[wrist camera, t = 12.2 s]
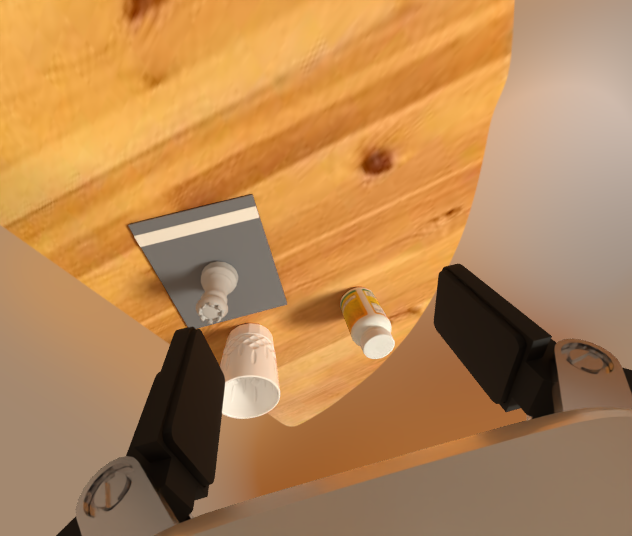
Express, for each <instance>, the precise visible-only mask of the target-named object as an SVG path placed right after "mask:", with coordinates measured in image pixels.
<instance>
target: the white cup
mask: <svg viewBox="0 0 632 536" xmlns="http://www.w3.org/2000/svg"><path fill="white" fill-rule="evenodd" d="M220 368H221V370H222V372H223V374H224V377H225V390H224V399H223V408H222V414H224V415H226V416H229V417H232V418H239V419H246V418H254V417H258V416H261V415H263V414H265V413H267V412H269V411H270V410H272V409H273V408H274V407H275V406H276V405H277V403H278V401H279V399H280V387H279V379H278V370H277V362H276V355H275V350H274V346H273V337H272V334H271V333H270V331H269V330H268V329H267V328H265V327H264V326H262V325H260V324H253V323H247V324H243V325H239V326H237V327H236V328H235V329H233V330H232V331H231V332H230V334H229V336H228V337H227V340H226V345H225V349H224V352H223V355H222V360H221V363H220Z"/></svg>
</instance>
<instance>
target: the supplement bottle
mask: <svg viewBox="0 0 632 536" xmlns="http://www.w3.org/2000/svg"><path fill="white" fill-rule="evenodd" d="M340 308H341V311H342V313H343V316H344V319H345V321H346V324H347V326H348V329H349V331H350V334H351V337H352V339H353V341H354V342H355V343H356V344H357V345H359V346H361V348H362V350H363V352H364V354H365V355H366V356H367V357H368V358H371V359H379V358H382V357H385V356H386V355H388V354H389V353H390V352H391V351H392V350H393V348H394V344H395V342H394V339H393V337H392V335H391V323H390V321H389V319H388V318H387V316H386V314H385V313H384V311H383V309H382V308H381V306H380V304H379V303H378V301H377V299H376V297H375V296H374V294H373V293H372V292H371V291H370V290H369V289H367V288H364V287H357V288H353V289H351V290H349V291H348V292H346V293H345V294H344V295H343V297H342V299H341V301H340Z"/></svg>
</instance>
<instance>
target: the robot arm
mask: <svg viewBox="0 0 632 536" xmlns="http://www.w3.org/2000/svg"><path fill="white" fill-rule="evenodd" d="M434 325H435V328H436V330H437V331H438V333H440V335H441V336H442V337H443V339H444V340H445V341H446V343H447V344H448V345H449V346H450V348H451V349H452V350H453V351H454V353H455V354H456V355H457V357H458V358H459V359H460V360H461V362H462V363H463V364H464V366H465V367H466V368H467V369H468V371H469V372H470V373H471V374H472V376H473V377H474V378H475V380H476V381H477V382H478V383H479V385H480V386H481V387H482V388H483V390H484V391H485V392H486V393H487V395H488V396H489V397H490V399H491V400H492V401H493V402H495V403H496V404H500V405H501V407H502V408H503V409H504V410H505V412H508V411H512V410H515V409H519V408H522V410H523V411H524V412H525V413H526V414H527V421H523V422H519V423H516V424H511V425H508V426H504V427H500V428H497V429H493V430H490V431H486V432H483V433H479V434H476V435H472V436H468V437H465V438H461V439H458V440H454V441H451V442H447V443H443V444H440V445H436V446H433V447H429V448H426V449H422V450H419V451H415V452H412V453H409V454H405V455H401V456H398V457H394V458H391V459H387V460H384V461H380V462H377V463H374V464H370V465H366V466H363V467H360V468H356V469H353V470H349V471H346V472H342V473H339V474H335V475H332V476H328V477H325V478H322V479H318V480H315V481H311V482H308V483H305V484H301V485H298V486H294V487H291V488H287V489H284V490H281V491H277V492H274V493H270V494H267V495H263V496H261V497H257V498H253V499H250V500H247V501H244V502H241V503H237V504H234V505H231V506H228V507H225V508H221V509H218V510H215V511H212V512H209V513H206V514H203V515H200V516H198V517H195V518H193V516H192V514H191V512H192V510H193V506H194V500H198V499H201V498H204V497H207V496H208V488H209V485H210V484H212V483H213V482H214V478H215V470H216V461H217V452H218V443H219V434H220V425H221V417H222V408H223V399H224V390H225V377H224V374H223V372H222V370H221V368H220V366H219V364H218V362H217V360H216V358H215V356H214V355H213V353H212V351H211V349H210V347H209V345H208V343H207V341H206V339H205V337H204V335H203V333H202V331H201V330H200V329H195V328H194V327H188V328H183V329H179V330H176V331H175V333H174V336H173V339H172V341H171V344H170V347H169V350H168V352H167V355H166V358H165V361H164V364H163V366H162V369H161V372H159V373H158V374H157V375H156V377H155V380H154V382H153V385H152V387H151V390H150V393H149V396H148V398H147V401H146V404H145V406H144V409H143V412H142V414H141V417H140V420H139V423H138V426H137V428H136V431H135V433H134V436H133V439H132V442H131V444H130V447H129V450H128V452H127V455H126V456H125V457H120V458H117V459H115V460H113V461H111V462H109V463H108V464H106V465H105V466H104V467H103V468H101V469H100V470H99V471H98V472H97V473H96V474H95V475H94V476H93V477H92V478H91V479H90V481H89V482H88V483H87V485H86V486H85V487H84V489H83V491H82V493H81V495H80V497H79V499H78V503H77V506H76V517H75V518H74V519H73V520H72V521H71V522H70V523H69V524H68V525H67V526H66V527H65V528H64V529H63V530H62V531H61V532H60V533H58V535H56V536H632V370H629V369H625V368H622V366H621V364H620V362H619V361H618V359H617V358H616V357H615V356H614V355H612V354H611V353H610V352H609V351H607V350H606V349H604V348H602V347H600V346H598V345H596V344H594V343H591V342H588V341H584V340H580V339H564V340H561V341H558V342H557V343H556V342H555V341H553V340H552V339H551V337H552V336H551V335H549V334H548V333H547V332H546V331H544V330H543V329H542V328H541V327H539V326H538V325H537V324H536V323H534V322H533V321H532V320H531V319H529V318H528V317H527V316H526V315H524V314H523V313H522V312H521V311H519V310H518V309H517V308H516V307H514V306H513V305H512V304H510V303H509V302H508V301H506V300H505V299H504V298H503V297H502V296H500V295H499V294H498V293H497V292H495V291H494V290H493V289H491V288H490V287H489V286H488V285H486V284H485V283H484V282H483V281H481V280H480V279H479V278H478V277H476V276H475V275H474V274H473V273H471V272H470V271H469V270H468V269H466V268H465V267H464V266H462V265H461V264H455V265H450V266H446V267H444V268H443V269H442V271H441V272H440V273H439V277H438V286H437V296H436V305H435V315H434Z"/></svg>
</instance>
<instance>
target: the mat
mask: <svg viewBox="0 0 632 536" xmlns="http://www.w3.org/2000/svg"><path fill="white" fill-rule="evenodd" d="M128 226H129V228H130V230H131V231H132V233H133V235H134V237H135V239H136V241H137V242H138V244H139V246H140V247H141V248H142V250H143V252H144V253H145V255H146V257H147V258H148V260H149V262H150V264H151V265H152V267H153V269H154V270H155V272H156V274H157V275H158V277H159V279H160V280H161V282H162V284H163V286H164V287H165V289H166V291H167V292H168V294H169V296H170V297H171V299H172V301H173V303H174V304H175V306H176V308H177V309H178V311H179V313H180V314H181V316H182V318H183V319H184V321H185V323H186V325H187V326H188V327H194V328H195V329H197V328H201V327H204V326H208V325H212V324H207V323H208V321H207V320H204V321H203V322H202V321H201V320H200V316H199V315H198V314H197V311H196V304H197V302H198V301H199V300H200V299H201V296H202V295H203V293H205V290H204V289H203V287H202V284H201V275H202V271H203V269H204V268H205V266H207V265H208V264H210V263H213V262H217V261H218V262H226V263H228V264H230V265H232V266H233V267H234V268H235V270H236V271H237V274H238V282H237V286H236V287H235V289H234V290H233V291H232V292H231V293H230V294H228V295H227V299H228V300H227V306H228V313H227V314H226V316H225V317H223V318H222V319H221V321H219V322H223V321H227V320H231V319H234V318H238V317H242V316H246V315H249V314H253V313H257V312H261V311H264V310H268V309H272V308H276V307H279V306H283V305H287V301H286V298H285V295H284V292H283V289H282V285H281V282H280V279H279V276H278V273H277V270H276V267H275V264H274V260H273V257H272V254H271V251H270V248H269V245H268V242H267V238H266V235H265V232H264V229H263V226H262V223H261V220H260V217H259V213H258V210H257V207H256V204H255V201H254V198H253V195H252V194H250V195H246V196H242V197H238V198H234V199H230V200H226V201H222V202H218V203H214V204H209V205H205V206H201V207H197V208H193V209H189V210H185V211H181V212H177V213H173V214H169V215H165V216H161V217H156V218H152V219H148V220H144V221H140V222H136V223H132V224H129V225H128ZM219 322H218V323H219ZM216 323H217V322H216V321H213V324H216Z"/></svg>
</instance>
